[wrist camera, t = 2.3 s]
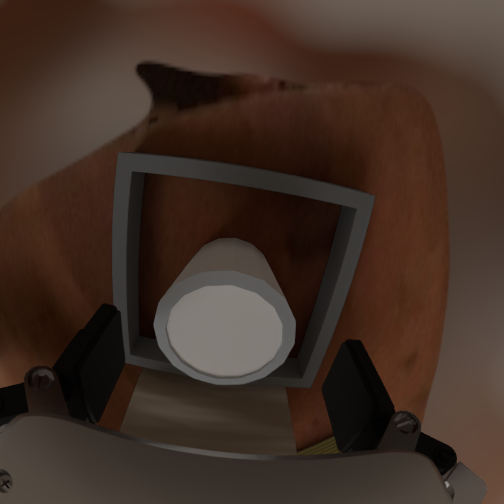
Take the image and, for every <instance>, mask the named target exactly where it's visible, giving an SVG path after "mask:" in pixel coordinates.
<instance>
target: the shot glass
mask: <svg viewBox="0 0 504 504" xmlns="http://www.w3.org/2000/svg"><path fill="white" fill-rule="evenodd" d="M154 330H155V334H156V338H157V342H158V345H159V348H160V349H161V350H162V352H163V353H164V354H165V356H166V357H167V358H168V359H169V361H170V362H171V363H172V365H173V366H175V367H176V368H178V369H180V370H181V371H183V372H184V373H186V374H187V375H189V376H190V377H192V378H194V379H198V380H201V381H205V382H208V383H212V384H216V385H241V384H245V383H248V382H251V381H255V380H258V379H261V378H264V377H266V376H267V375H268V374H270V373H271V372H272V371H274V370H275V369H276V368H278V367H279V366H280V365H282V364H283V363H284V361H285V360H286V358H287V356H288V354H289V353H290V351H291V349H292V348H293V346H294V344H295V330H296V320H295V318H294V316H293V314H292V312H291V309H290V307H289V305H288V303H287V301H286V298H285V296H284V294H283V292H282V290H281V288H280V286H279V284H278V282H277V280H276V278H275V276H274V274H273V272H272V270H271V268H270V266H269V264H268V262H267V260H266V258H265V256H264V254H263V253H262V252H260V251H259V250H258V249H257V248H256V247H255V246H254V245H253V244H251V243H249V242H246V241H243V240H240V239H238V238H218V239H216V240H214V241H212V242H210V243H208V244H205V245H204V246H203V247H202V248H201V249H200V250H199V251H198V252H197V253H196V254H195V256H194V257H193V258H192V259H191V260H190V262H189V263H188V264H187V266H186V267H185V268H184V270H183V271H182V272H181V274H180V275H179V276H178V277H177V279H176V280H175V281H174V283H173V284H172V285H171V287H170V288H169V289H168V291H167V292H166V293H165V295H164V296H163V297H162V299H161V300H160V301H159V303H158V307H157V312H156V316H155V320H154Z"/></svg>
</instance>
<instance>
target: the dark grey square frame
mask: <svg viewBox="0 0 504 504" xmlns="http://www.w3.org/2000/svg"><path fill="white" fill-rule="evenodd" d="M145 173H154V174H163V175H172V176H180V177H187V178H195V179H202V180H209V181H216V182H223V183H229V184H235V185H242V186H248V187H253V188H259V189H265V190H270V191H276V192H281V193H286V194H292V195H297V196H302V197H307V198H311V199H316V200H321V201H326V202H330V203H335V204H339V205H342V207H341V211H340V216H339V220H338V224H337V228H336V232H335V236H334V239H333V243H332V247H331V251H330V255H329V258H328V262H327V265H326V269H325V272H324V276H323V279H322V283H321V286H320V290H319V293H318V296H317V299H316V303H315V306H314V309H313V312H312V315H311V319H310V322H309V325H308V328H307V331H306V334H305V337H304V340H303V343H302V346H301V349H300V351H299V354H298V357H297V358H286V360H285V361H284V363H283V364H282V365H280V366H279V367H278V368H276V369H275V370H274V371H272V372H271V373H270V374H268V375H267V376H266V377H264V378H261V379H258V380H255V381H251V382H248V383H245V384H253V385H265V386H280V387H301V388H311V386H312V384H313V381H314V379H315V377H316V375H317V372H318V370H319V368H320V365H321V363H322V360H323V358H324V356H325V353H326V351H327V348H328V346H329V343H330V341H331V338H332V335H333V333H334V330H335V328H336V325H337V322H338V319H339V317H340V314H341V311H342V308H343V306H344V303H345V300H346V297H347V294H348V291H349V288H350V285H351V282H352V279H353V276H354V272H355V269H356V266H357V263H358V259H359V256H360V253H361V249H362V246H363V242H364V239H365V235H366V231H367V228H368V224H369V220H370V216H371V212H372V208H373V204H374V200H375V196H374V195H371V194H369V193H366V192H363V191H360V190H357V189H353V188H349V187H345V186H341V185H337V184H332V183H328V182H324V181H320V180H315V179H311V178H306V177H301V176H297V175H292V174H287V173H282V172H277V171H271V170H266V169H261V168H255V167H249V166H243V165H237V164H231V163H224V162H217V161H210V160H203V159H195V158H187V157H179V156H170V155H160V154H149V153H137V152H121V153H118V159H117V168H116V178H115V189H114V204H113V224H112V281H113V302H114V306H116V307H117V310H120V312H121V321H122V332H123V342H124V351H125V363H128V364H132V365H136V366H141V367H145V368H150V369H154V370H159V371H164V372H169V373H174V374H180V375H185V376H189V375H187V374H186V373H184V372H183V371H181V370H180V369H178V368H176V367H175V366H173V365H172V363H171V362H170V361H169V359H168V358H167V357H166V356H165V354H164V353H163V352H162V350H161V349H160V348H159V345H158V342H157V339H152V338H147V337H143V336H139V305H138V272H139V242H140V224H141V211H142V199H143V189H144V179H145Z"/></svg>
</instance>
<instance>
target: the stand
mask: <svg viewBox="0 0 504 504" xmlns="http://www.w3.org/2000/svg"><path fill="white" fill-rule="evenodd" d="M119 432H122V433H125V434H129V435H133V436H137V437H141V438H145V439H149V440H153V441H158V442H162V443H167V444H172V445H178V446H184V447H190V448H196V449H203V450H210V451H219V452H228V453H240V454H255V455H297V450H296V444H295V438H294V432H293V426H292V421H291V415H290V409H289V404H288V398H287V392H286V387H280V386H265V385H253V384H241V385H216V384H212V383H208V382H205V381H201V380H198V379H194V378H192V377H190V376H185V375H180V374H174V373H169V372H164V371H159V370H154V369H150V368H145V367H143V369H142V371H141V374H140V377H139V379H138V382H137V384H136V387H135V390H134V392H133V395H132V397H131V400H130V403H129V406H128V408H127V411H126V414H125V417H124V419H123V422H122V425H121V428H120V431H119Z"/></svg>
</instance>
